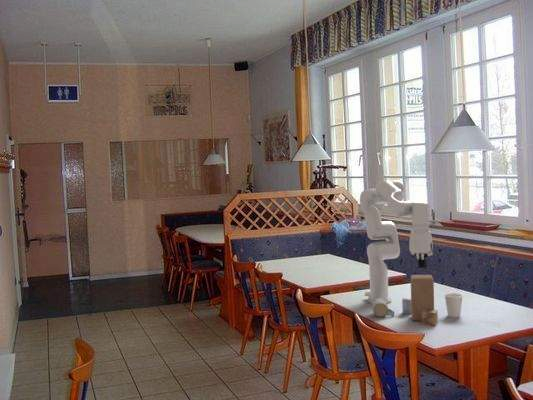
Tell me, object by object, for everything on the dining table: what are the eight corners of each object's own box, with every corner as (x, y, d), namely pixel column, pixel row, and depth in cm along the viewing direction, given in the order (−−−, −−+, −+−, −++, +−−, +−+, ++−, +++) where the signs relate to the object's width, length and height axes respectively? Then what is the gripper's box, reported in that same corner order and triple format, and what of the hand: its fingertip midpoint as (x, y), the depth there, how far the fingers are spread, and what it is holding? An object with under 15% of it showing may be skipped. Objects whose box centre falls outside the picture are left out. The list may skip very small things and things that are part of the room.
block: (434, 321, 275) (433, 278, 274) (412, 321, 277) (411, 278, 276) (433, 316, 285) (432, 274, 284) (411, 315, 287) (410, 274, 286)
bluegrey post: (400, 313, 293) (400, 299, 292) (406, 311, 296) (405, 297, 296) (409, 315, 289) (409, 300, 289) (415, 312, 293) (414, 298, 292)
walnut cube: (421, 325, 271) (421, 312, 270) (424, 321, 276) (424, 309, 276) (435, 326, 268) (435, 313, 268) (437, 322, 274) (437, 309, 273)
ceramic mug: (373, 317, 286) (373, 302, 286) (371, 313, 295) (371, 298, 294) (395, 317, 286) (395, 301, 285) (393, 313, 294) (392, 297, 294)
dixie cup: (441, 315, 287) (440, 294, 286) (455, 312, 290) (454, 292, 289) (453, 319, 279) (452, 297, 278) (467, 316, 282) (466, 295, 282)
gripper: (402, 228, 281) (403, 267, 282) (431, 229, 271) (432, 270, 272) (410, 227, 287) (412, 265, 288) (439, 228, 276) (440, 267, 277)
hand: (422, 267), depth 280 cm, fingers closed
